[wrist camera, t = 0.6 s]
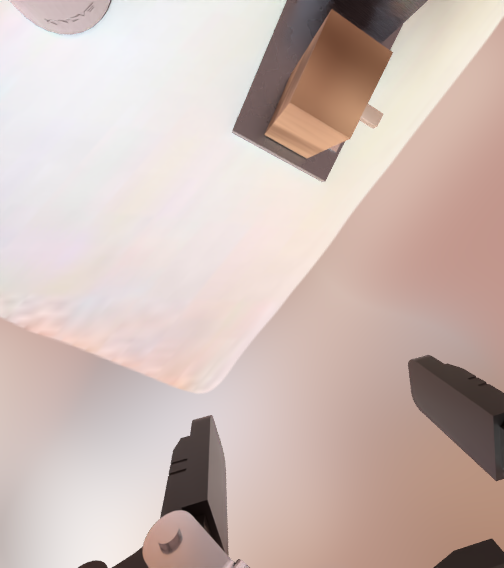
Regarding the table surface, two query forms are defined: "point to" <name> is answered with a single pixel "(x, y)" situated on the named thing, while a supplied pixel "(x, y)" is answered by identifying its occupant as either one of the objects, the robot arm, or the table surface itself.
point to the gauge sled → (329, 89)
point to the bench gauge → (288, 51)
